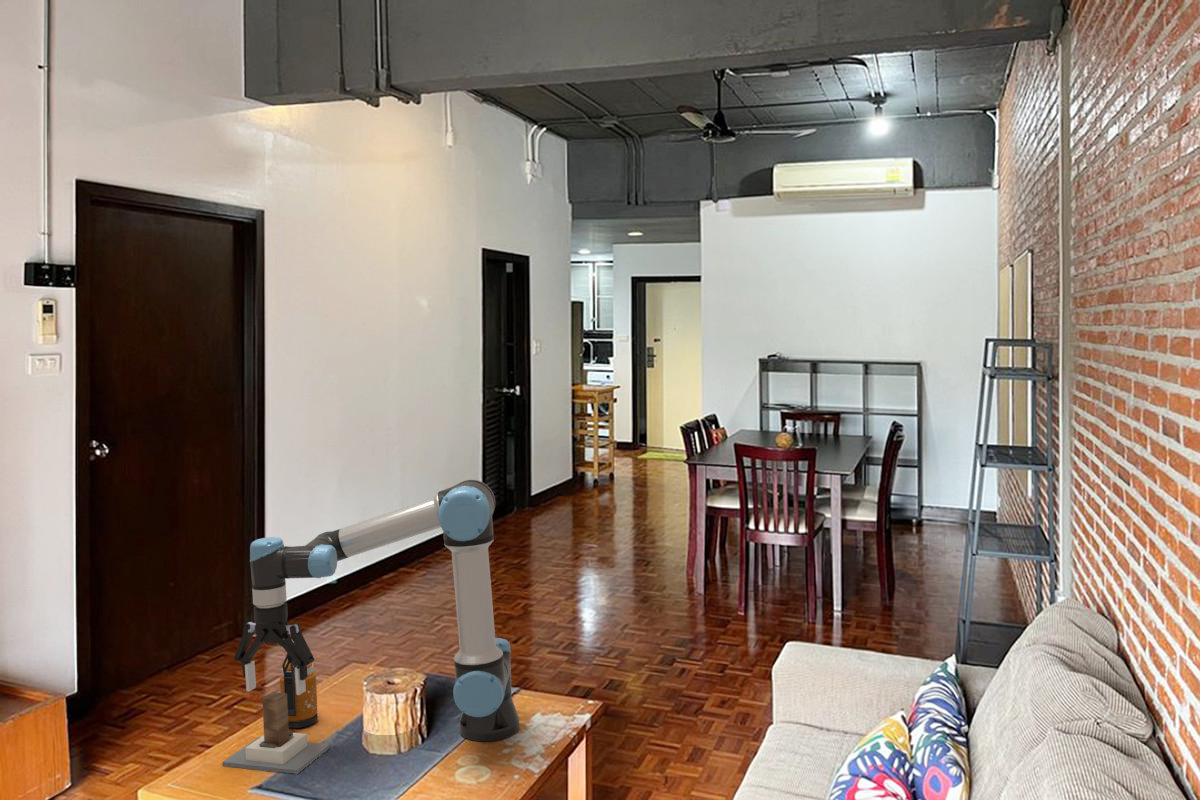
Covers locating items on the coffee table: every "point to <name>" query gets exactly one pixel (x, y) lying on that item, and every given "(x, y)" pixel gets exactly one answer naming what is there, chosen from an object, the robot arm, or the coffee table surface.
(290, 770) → the grey plate
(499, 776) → the coffee table surface
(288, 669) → the canister
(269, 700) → the wooden block
